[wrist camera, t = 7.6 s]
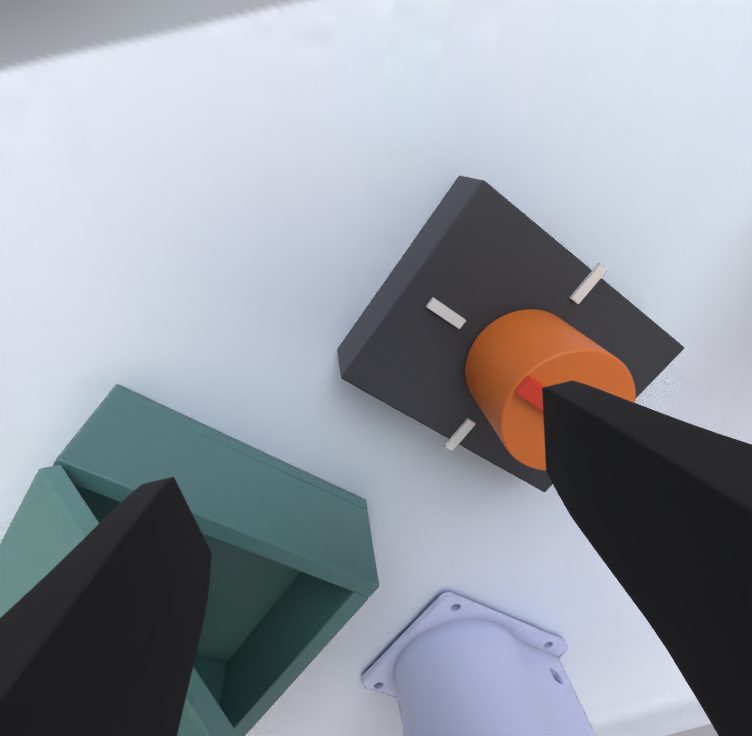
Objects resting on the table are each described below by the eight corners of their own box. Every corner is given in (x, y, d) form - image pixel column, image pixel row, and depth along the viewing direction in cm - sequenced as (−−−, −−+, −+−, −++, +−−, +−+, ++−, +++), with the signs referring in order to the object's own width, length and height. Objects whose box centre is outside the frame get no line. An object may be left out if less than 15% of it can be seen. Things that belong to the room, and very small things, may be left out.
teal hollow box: (366, 499, 22) (380, 586, 17) (234, 661, 25) (218, 765, 21) (116, 383, 18) (56, 458, 13) (1, 593, 21) (-75, 705, 17)
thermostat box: (647, 318, 19) (695, 343, 17) (516, 461, 22) (541, 500, 19) (465, 167, 16) (492, 170, 14) (332, 355, 18) (335, 387, 16)
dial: (597, 346, 17) (671, 398, 13) (522, 429, 18) (573, 498, 14) (517, 285, 15) (576, 326, 12) (441, 380, 16) (475, 442, 13)
